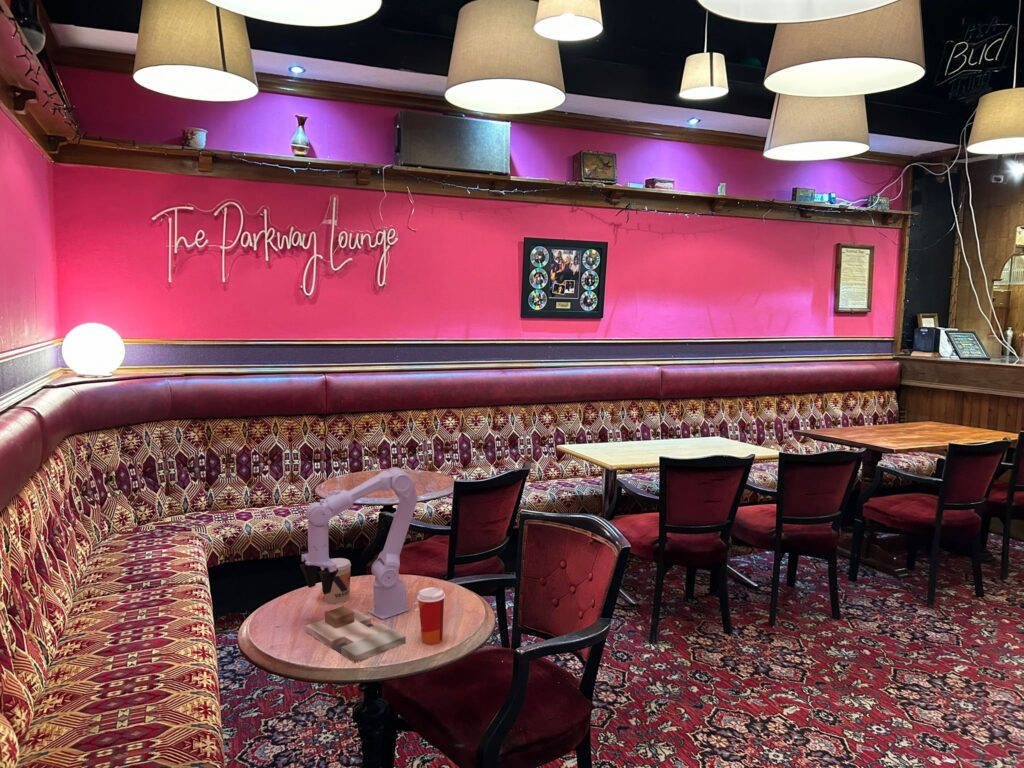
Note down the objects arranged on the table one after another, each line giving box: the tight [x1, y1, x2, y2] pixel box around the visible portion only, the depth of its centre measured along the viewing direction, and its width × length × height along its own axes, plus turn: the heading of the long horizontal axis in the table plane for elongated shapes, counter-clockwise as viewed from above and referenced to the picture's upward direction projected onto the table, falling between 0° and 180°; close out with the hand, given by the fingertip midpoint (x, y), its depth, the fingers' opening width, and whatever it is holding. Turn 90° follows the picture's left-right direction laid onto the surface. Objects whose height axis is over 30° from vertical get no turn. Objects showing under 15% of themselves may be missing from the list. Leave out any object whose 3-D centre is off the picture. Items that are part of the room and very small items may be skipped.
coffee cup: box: [320, 557, 352, 605], centre depth 230 cm, size 9×9×12 cm
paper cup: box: [417, 586, 446, 646], centre depth 200 cm, size 8×8×14 cm
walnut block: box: [324, 605, 354, 628], centre depth 209 cm, size 6×6×3 cm
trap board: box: [305, 608, 407, 664], centre depth 203 cm, size 16×26×2 cm, turn 44°
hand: (319, 589), depth 211 cm, fingers open, 7 cm apart
